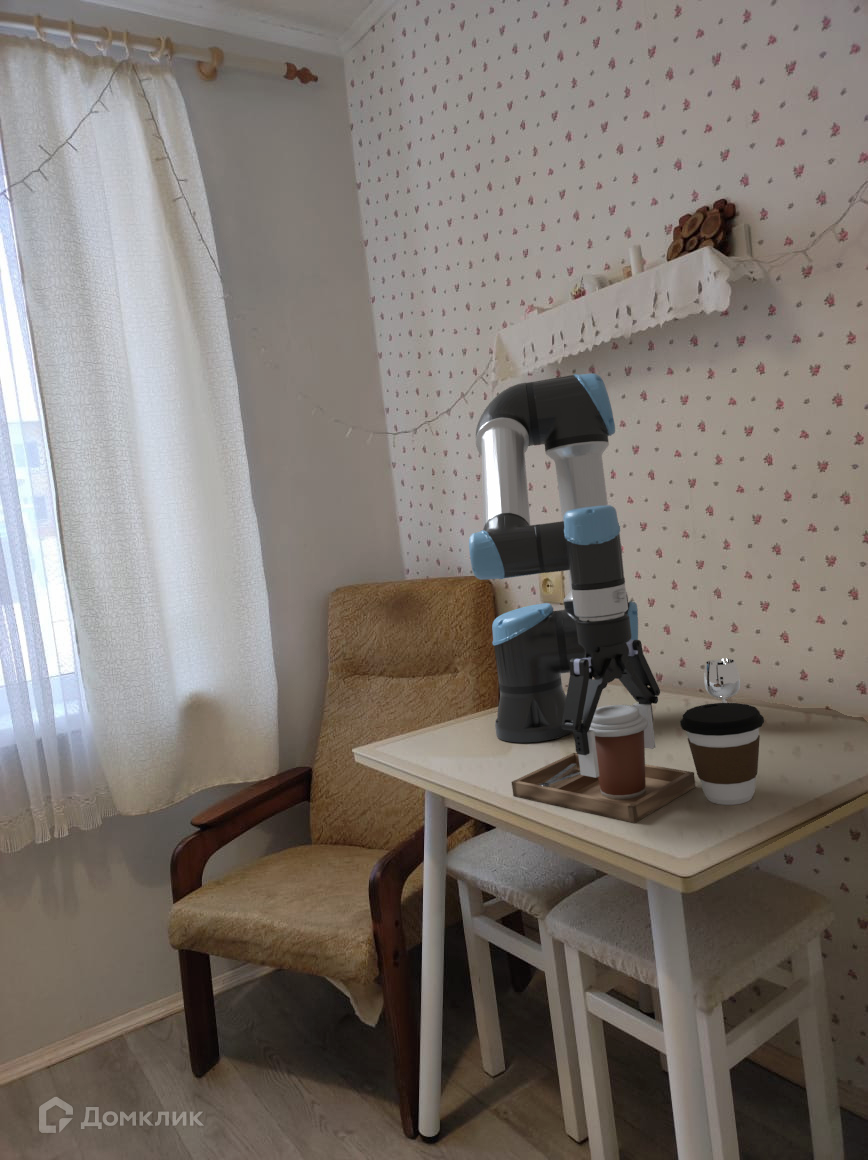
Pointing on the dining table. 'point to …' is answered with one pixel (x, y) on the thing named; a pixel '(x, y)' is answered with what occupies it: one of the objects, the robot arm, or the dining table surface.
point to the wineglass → (721, 678)
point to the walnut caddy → (587, 792)
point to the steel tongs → (562, 776)
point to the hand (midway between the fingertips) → (619, 761)
